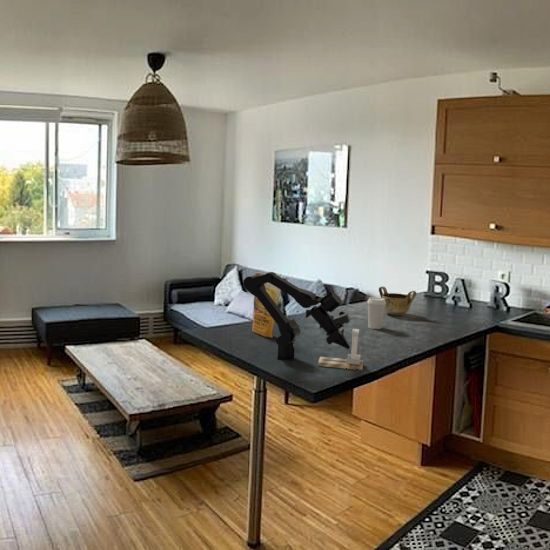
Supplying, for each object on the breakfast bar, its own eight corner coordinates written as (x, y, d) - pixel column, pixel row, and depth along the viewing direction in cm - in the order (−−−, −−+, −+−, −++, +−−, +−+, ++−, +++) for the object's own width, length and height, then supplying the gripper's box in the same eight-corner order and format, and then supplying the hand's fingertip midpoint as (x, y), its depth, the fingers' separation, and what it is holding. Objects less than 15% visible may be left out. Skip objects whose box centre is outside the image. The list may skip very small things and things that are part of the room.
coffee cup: (383, 326, 317) (385, 297, 314) (384, 330, 307) (387, 301, 305) (364, 324, 318) (366, 296, 315) (365, 329, 308) (367, 299, 306)
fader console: (317, 365, 242) (318, 362, 242) (320, 360, 251) (320, 356, 250) (362, 370, 240) (362, 366, 239) (363, 364, 248) (363, 360, 247)
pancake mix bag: (258, 328, 299) (260, 272, 295) (281, 337, 284) (284, 278, 280) (246, 330, 295) (249, 272, 291) (269, 339, 280) (272, 278, 276)
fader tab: (346, 363, 241) (348, 332, 239) (347, 358, 248) (349, 328, 246) (359, 364, 240) (361, 333, 238) (360, 359, 247) (362, 329, 245)
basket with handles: (419, 315, 347) (422, 289, 344) (406, 320, 333) (408, 293, 331) (384, 309, 360) (386, 284, 358) (370, 313, 347) (372, 287, 345)
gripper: (336, 310, 233) (363, 341, 233) (340, 301, 251) (365, 330, 251) (315, 329, 235) (341, 359, 235) (320, 318, 253) (344, 347, 253)
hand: (349, 348), depth 244 cm, fingers closed
